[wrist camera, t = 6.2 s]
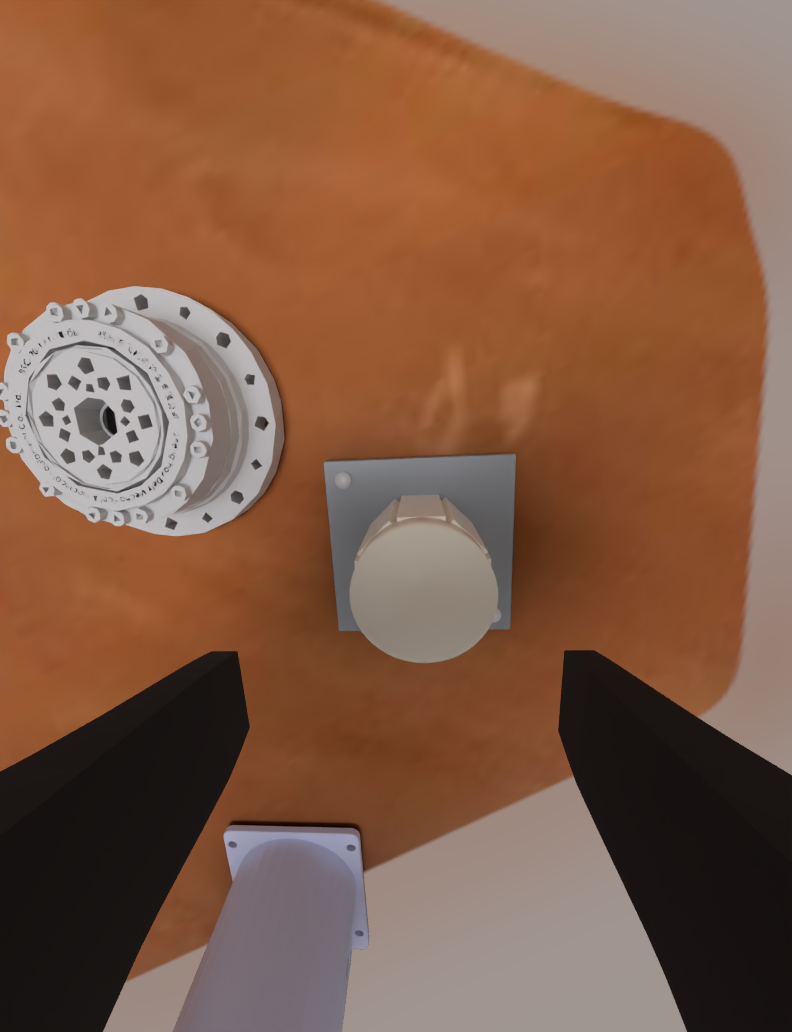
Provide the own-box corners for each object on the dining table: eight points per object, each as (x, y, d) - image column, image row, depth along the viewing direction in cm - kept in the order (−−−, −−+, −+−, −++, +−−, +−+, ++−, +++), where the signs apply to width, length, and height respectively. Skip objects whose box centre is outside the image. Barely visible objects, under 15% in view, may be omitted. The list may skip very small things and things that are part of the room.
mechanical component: (292, 531, 18) (280, 298, 15) (252, 565, 13) (227, 249, 11) (93, 523, 18) (50, 297, 16) (-8, 555, 14) (-89, 250, 11)
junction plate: (506, 620, 18) (530, 675, 14) (342, 622, 18) (322, 675, 14) (511, 453, 16) (541, 462, 12) (328, 460, 16) (300, 471, 12)
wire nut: (473, 593, 17) (496, 663, 12) (372, 594, 17) (354, 662, 12) (474, 493, 16) (500, 524, 11) (366, 496, 16) (344, 528, 11)
